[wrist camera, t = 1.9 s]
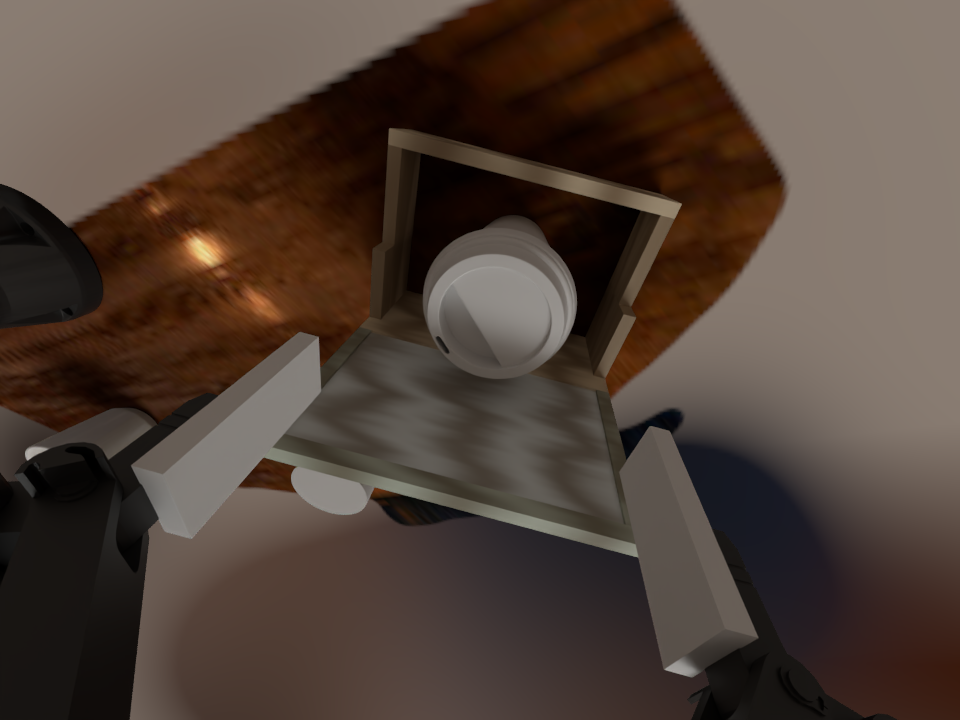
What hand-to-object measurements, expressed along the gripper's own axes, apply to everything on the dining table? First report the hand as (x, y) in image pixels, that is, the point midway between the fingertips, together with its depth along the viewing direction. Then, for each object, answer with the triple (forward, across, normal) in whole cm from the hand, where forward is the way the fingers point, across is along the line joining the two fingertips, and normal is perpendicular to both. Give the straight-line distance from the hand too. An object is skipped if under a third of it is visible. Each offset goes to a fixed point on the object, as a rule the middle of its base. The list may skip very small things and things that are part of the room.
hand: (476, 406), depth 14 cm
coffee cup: (+23, 0, 0) cm, 23 cm away
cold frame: (+22, 0, 0) cm, 22 cm away
